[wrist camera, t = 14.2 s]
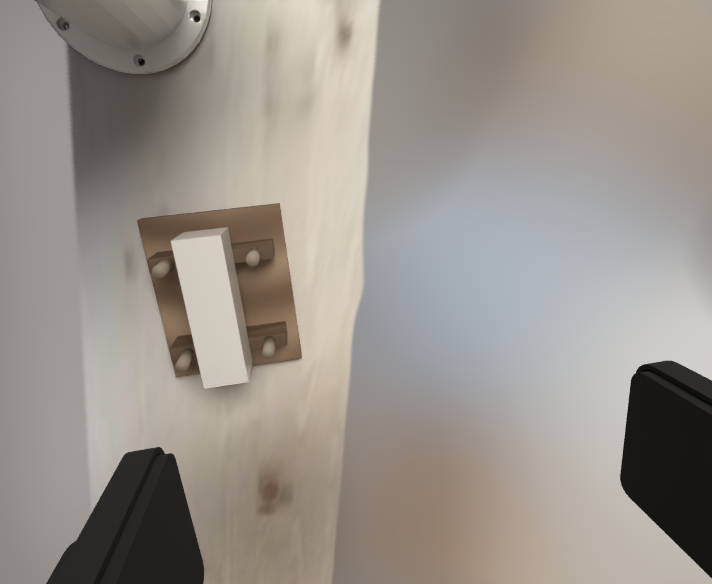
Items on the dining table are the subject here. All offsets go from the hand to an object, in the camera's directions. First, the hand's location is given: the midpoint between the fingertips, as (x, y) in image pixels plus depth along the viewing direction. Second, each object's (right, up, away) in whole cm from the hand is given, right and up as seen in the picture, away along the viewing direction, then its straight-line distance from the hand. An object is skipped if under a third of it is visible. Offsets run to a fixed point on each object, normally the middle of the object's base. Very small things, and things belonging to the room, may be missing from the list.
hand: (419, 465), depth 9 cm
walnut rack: (-13, +4, +32) cm, 35 cm away
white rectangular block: (-13, +3, +28) cm, 31 cm away
